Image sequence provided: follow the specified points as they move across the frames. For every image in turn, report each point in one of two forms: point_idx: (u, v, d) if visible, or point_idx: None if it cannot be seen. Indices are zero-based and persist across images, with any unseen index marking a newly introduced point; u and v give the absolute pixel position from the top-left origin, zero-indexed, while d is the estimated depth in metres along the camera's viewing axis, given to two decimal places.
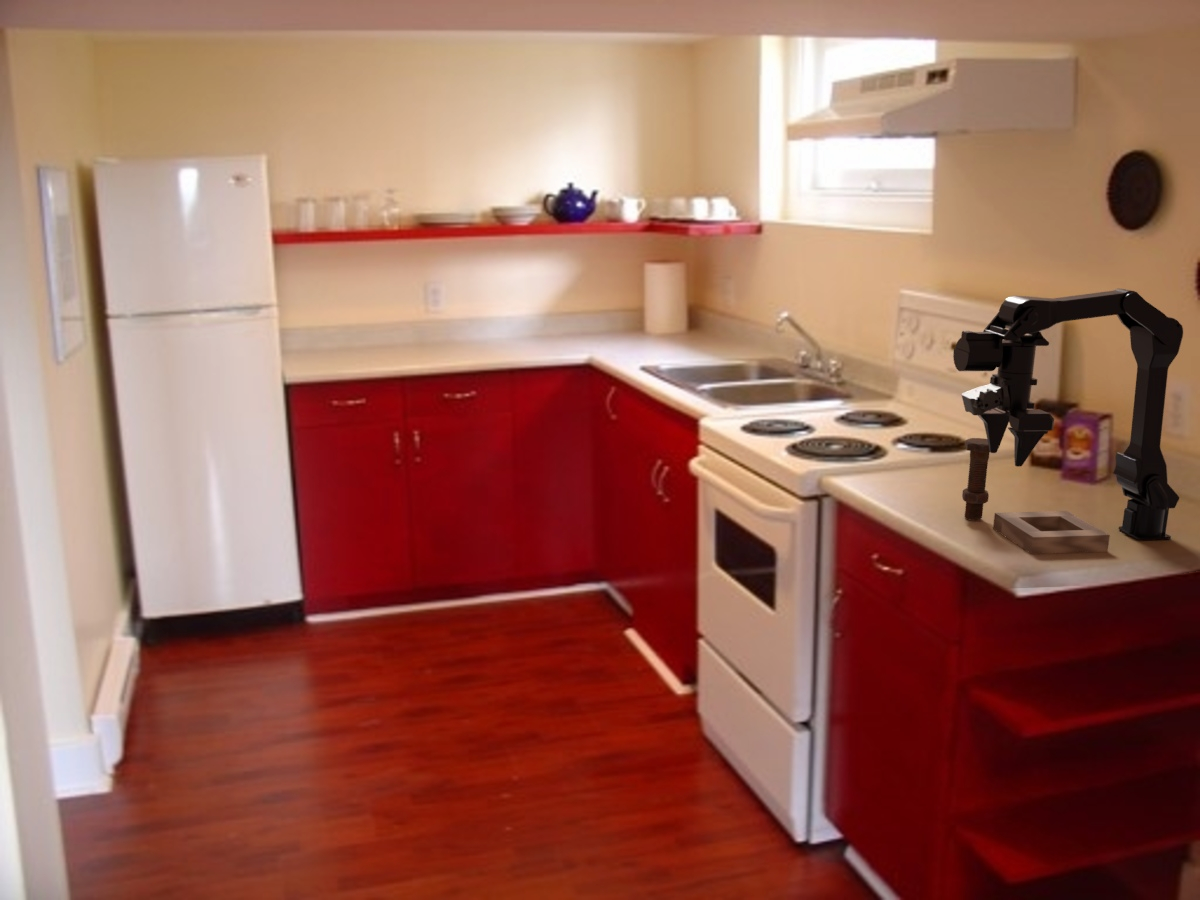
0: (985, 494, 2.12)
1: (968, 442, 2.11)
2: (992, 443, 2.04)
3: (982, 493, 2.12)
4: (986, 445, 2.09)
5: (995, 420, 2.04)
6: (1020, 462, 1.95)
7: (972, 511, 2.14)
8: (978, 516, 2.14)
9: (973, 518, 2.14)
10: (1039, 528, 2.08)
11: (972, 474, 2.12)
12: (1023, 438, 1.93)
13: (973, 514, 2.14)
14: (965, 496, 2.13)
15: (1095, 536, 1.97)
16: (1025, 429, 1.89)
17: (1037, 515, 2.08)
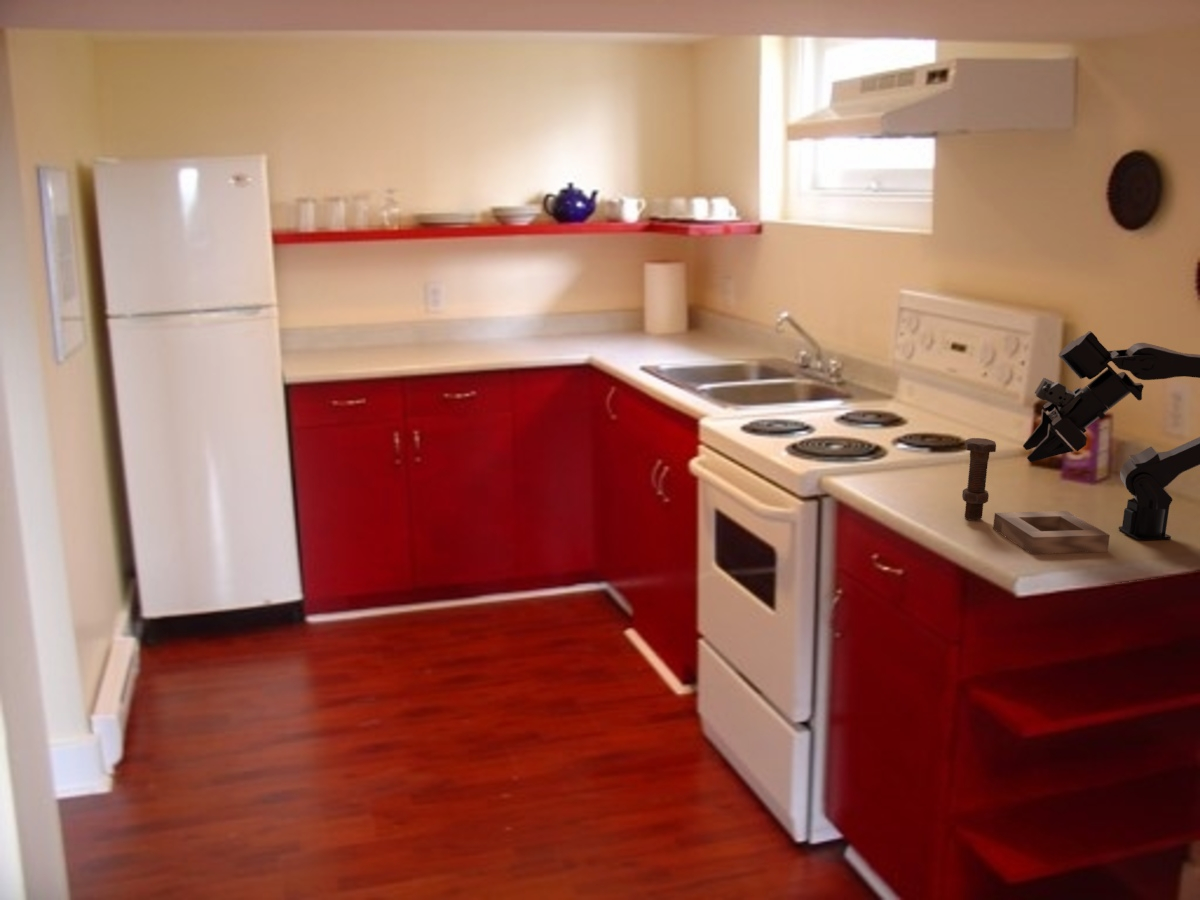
0: (985, 494, 2.12)
1: (968, 442, 2.11)
2: (1030, 440, 2.13)
3: (982, 493, 2.12)
4: (986, 445, 2.09)
5: None
6: (1032, 458, 2.05)
7: (972, 511, 2.14)
8: (978, 516, 2.14)
9: (973, 518, 2.14)
10: (1039, 528, 2.08)
11: (972, 474, 2.12)
12: (1051, 441, 2.03)
13: (973, 514, 2.14)
14: (965, 496, 2.13)
15: (1095, 536, 1.97)
16: (1058, 429, 1.98)
17: (1037, 515, 2.08)
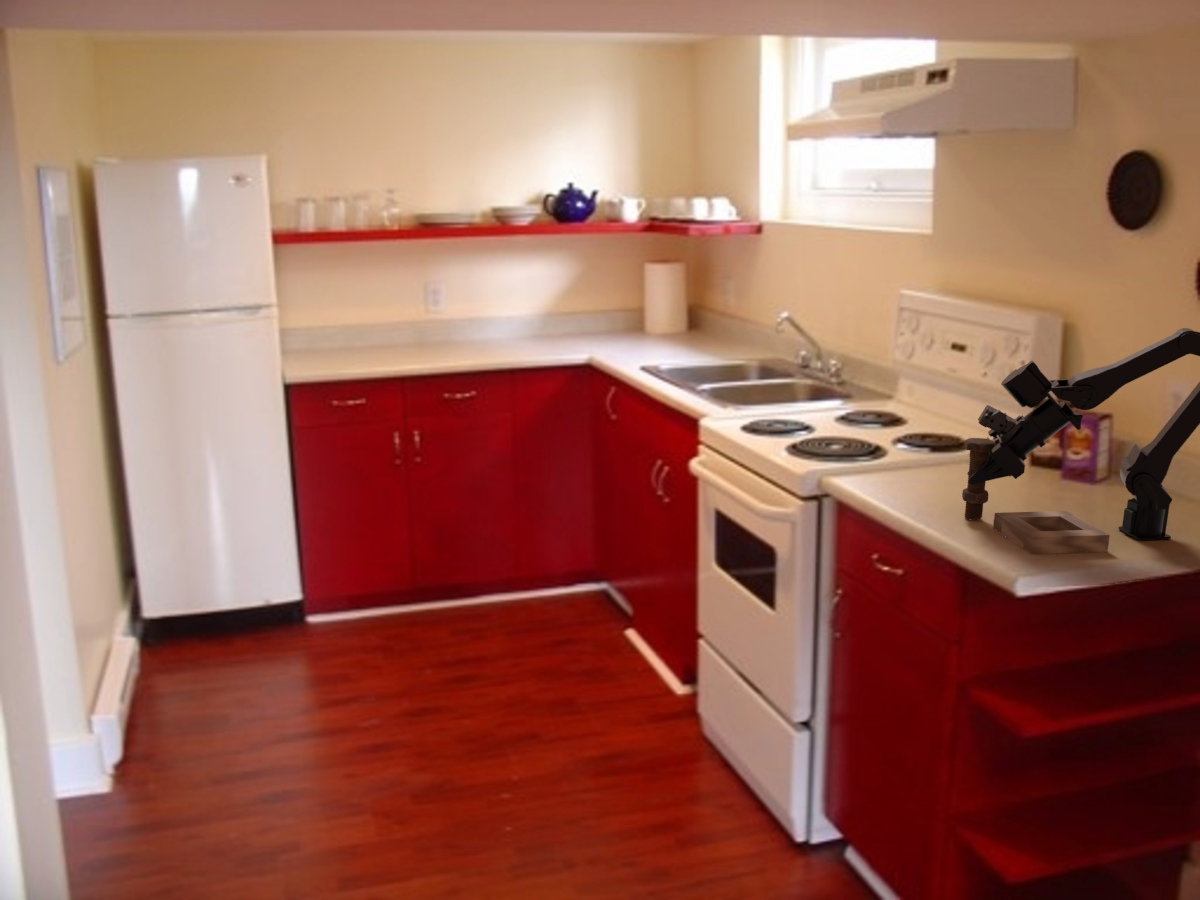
0: (985, 494, 2.12)
1: (968, 442, 2.11)
2: None
3: (982, 493, 2.12)
4: (986, 445, 2.09)
5: None
6: (973, 480, 2.11)
7: (972, 511, 2.14)
8: (978, 516, 2.14)
9: (973, 518, 2.14)
10: (1039, 528, 2.08)
11: (972, 474, 2.12)
12: (991, 465, 2.09)
13: (973, 514, 2.14)
14: (965, 496, 2.13)
15: (1095, 536, 1.97)
16: (997, 457, 2.02)
17: (1037, 515, 2.08)
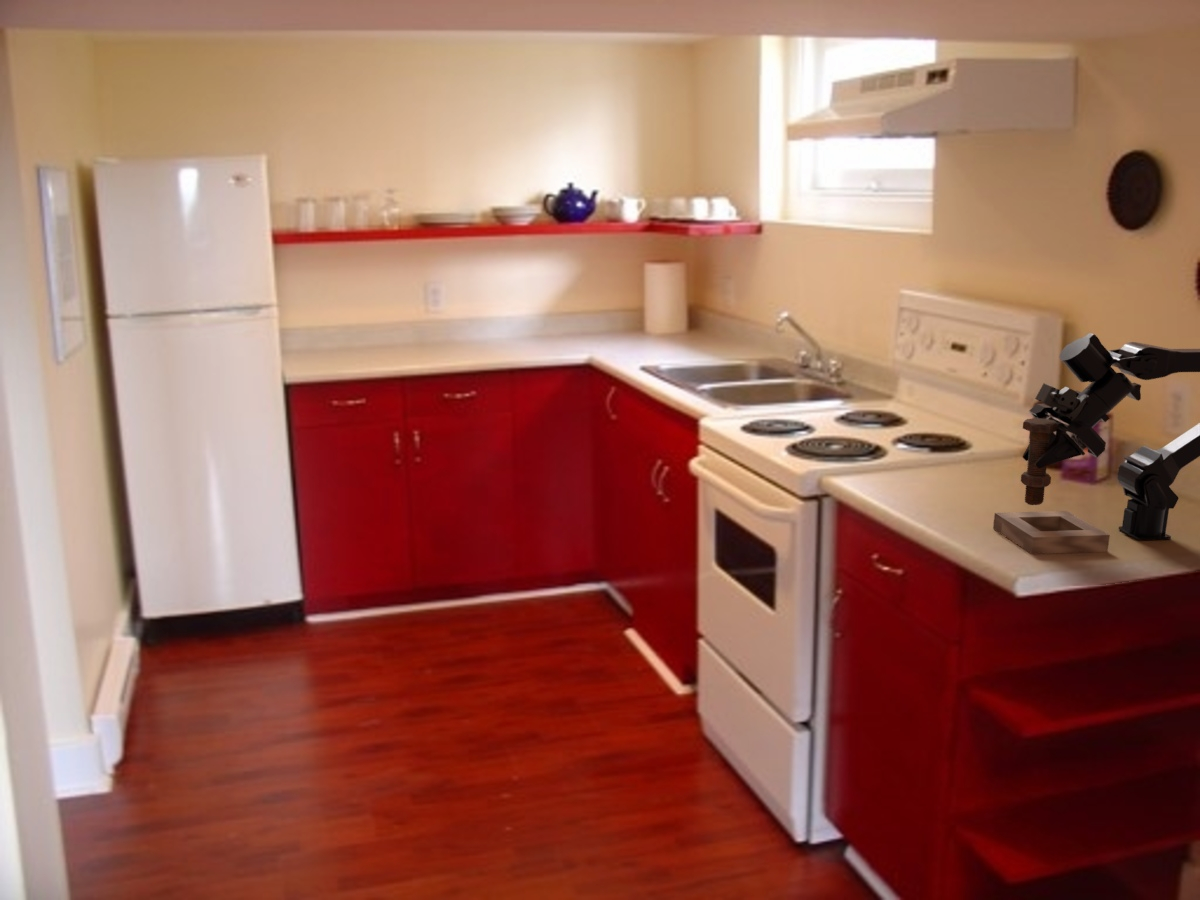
0: (1048, 476, 2.02)
1: (1031, 423, 2.00)
2: None
3: (1046, 475, 2.02)
4: (1052, 425, 1.99)
5: None
6: (1041, 464, 2.00)
7: (1036, 496, 2.03)
8: (1041, 500, 2.03)
9: (1037, 503, 2.03)
10: (1039, 528, 2.08)
11: (1035, 457, 2.01)
12: (1060, 446, 1.98)
13: (1037, 498, 2.03)
14: (1029, 480, 2.02)
15: (1095, 536, 1.97)
16: (1080, 436, 1.92)
17: (1037, 515, 2.08)
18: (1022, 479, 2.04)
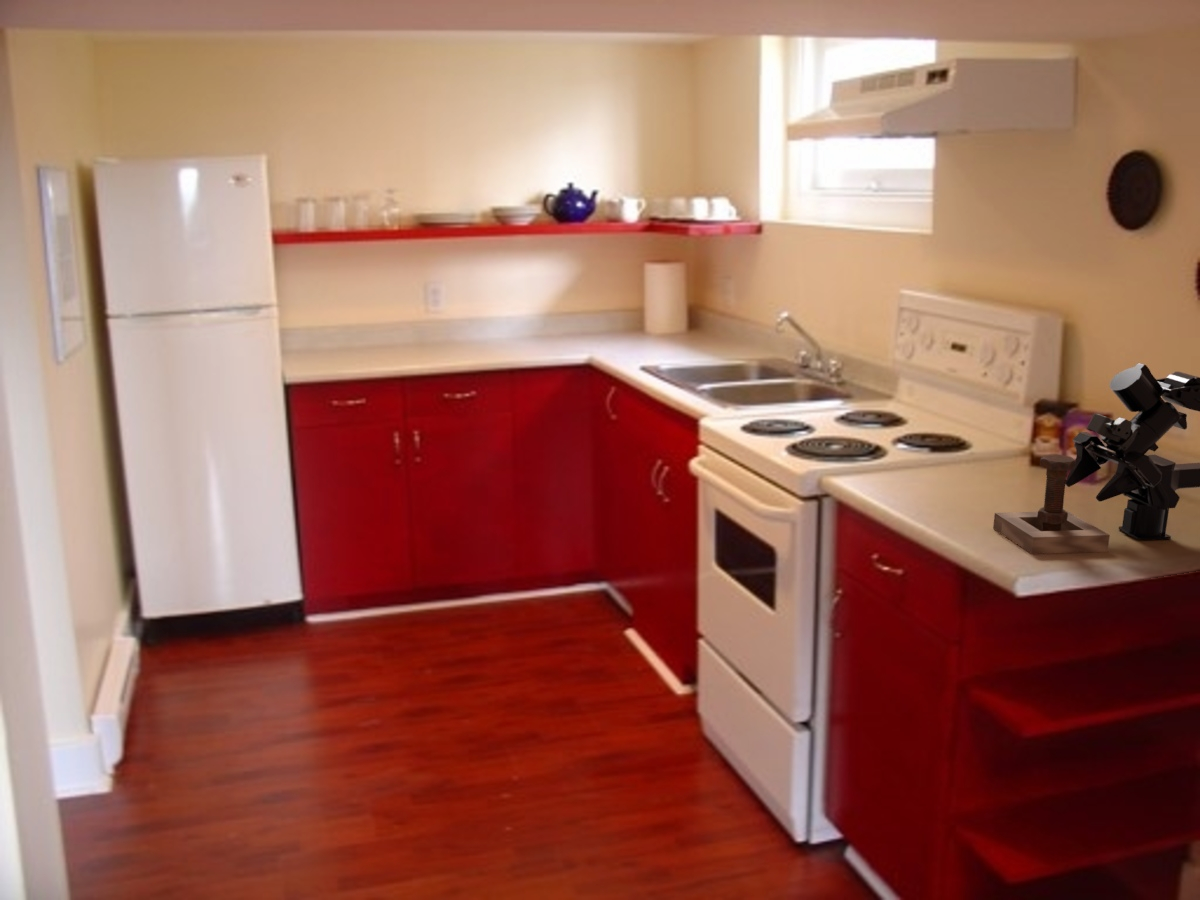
0: (1065, 512, 2.02)
1: (1050, 461, 1.99)
2: (1072, 477, 2.07)
3: (1063, 512, 2.01)
4: (1070, 462, 1.98)
5: (1088, 461, 2.07)
6: (1102, 497, 1.98)
7: None
8: None
9: None
10: (1039, 528, 2.08)
11: (1053, 494, 2.00)
12: (1122, 479, 1.97)
13: None
14: (1048, 518, 2.01)
15: (1095, 536, 1.97)
16: (1140, 467, 1.93)
17: (1037, 515, 2.08)
18: (1039, 516, 2.03)
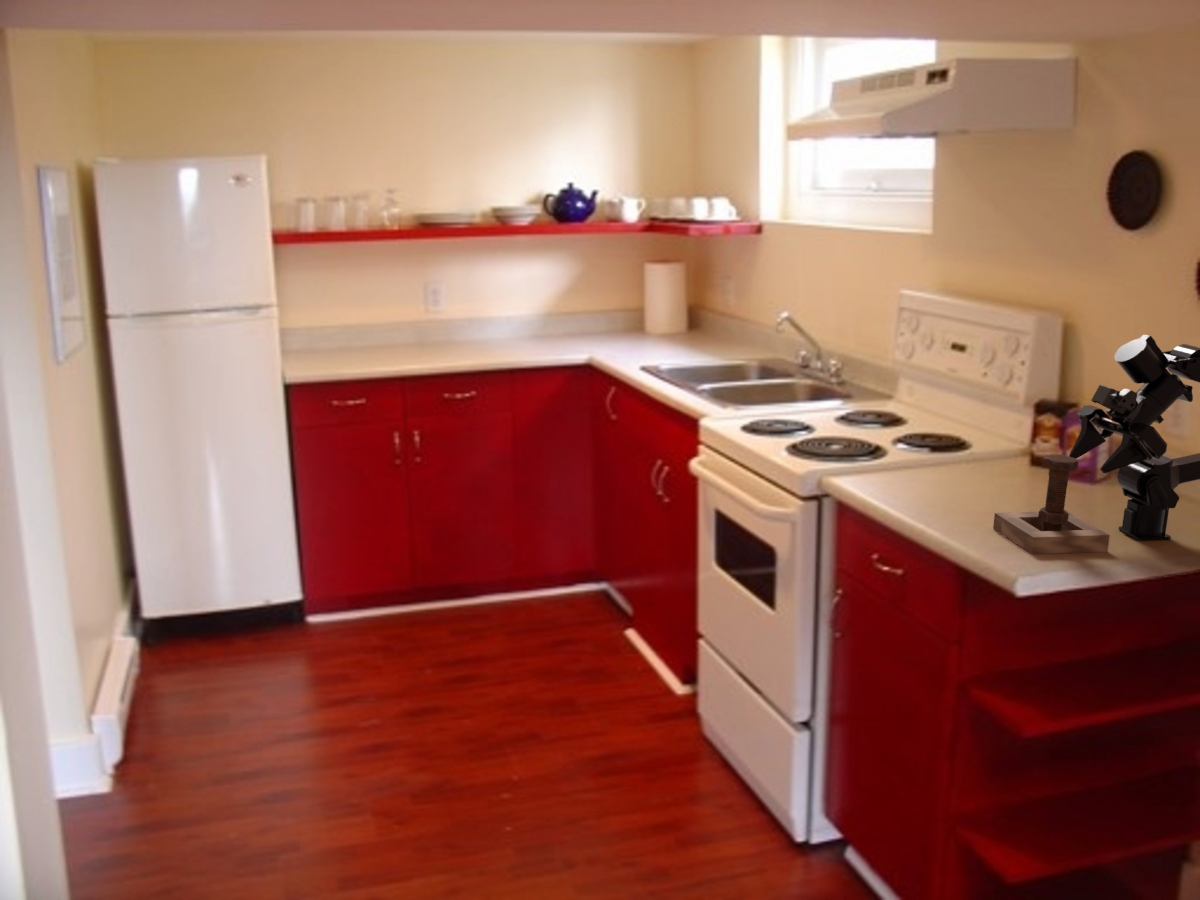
0: (1066, 513, 2.02)
1: (1053, 461, 1.98)
2: (1077, 449, 2.06)
3: (1064, 512, 2.01)
4: (1073, 463, 1.98)
5: (1092, 434, 2.06)
6: (1107, 469, 1.97)
7: None
8: None
9: None
10: (1039, 528, 2.08)
11: (1055, 494, 2.00)
12: (1127, 450, 1.96)
13: None
14: (1048, 518, 2.01)
15: (1095, 536, 1.97)
16: (1145, 438, 1.92)
17: (1037, 515, 2.08)
18: (1040, 515, 2.03)
